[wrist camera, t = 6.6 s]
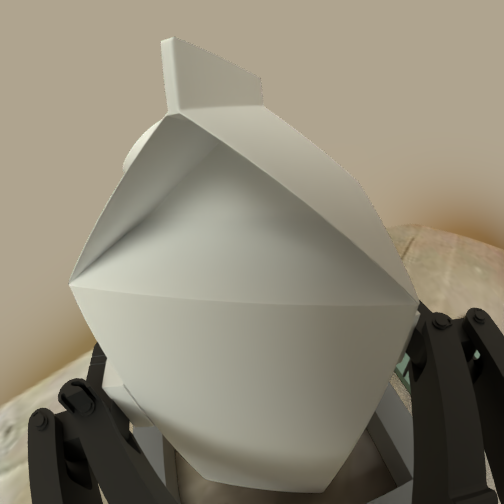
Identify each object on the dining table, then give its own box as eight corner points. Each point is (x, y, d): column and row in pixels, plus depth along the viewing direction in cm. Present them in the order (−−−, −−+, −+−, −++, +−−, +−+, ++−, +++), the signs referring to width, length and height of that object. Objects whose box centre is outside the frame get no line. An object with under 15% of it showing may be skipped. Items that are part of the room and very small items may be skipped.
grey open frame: (325, 313, 26) (330, 253, 23) (445, 514, 7) (508, 484, 4) (149, 348, 24) (125, 290, 21) (165, 592, 5) (108, 603, 2)
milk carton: (330, 401, 17) (357, 76, 8) (323, 494, 11) (446, 33, 2) (230, 394, 19) (168, 92, 9) (204, 480, 13) (16, 110, 3)
